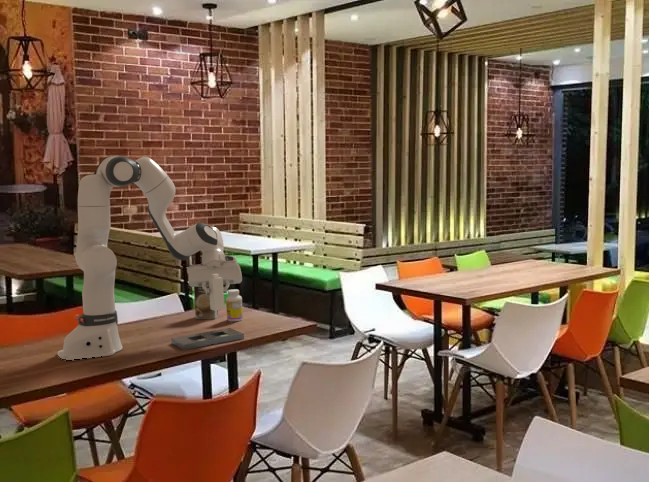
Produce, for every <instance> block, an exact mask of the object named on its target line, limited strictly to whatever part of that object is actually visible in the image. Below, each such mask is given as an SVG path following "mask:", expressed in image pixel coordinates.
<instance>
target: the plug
mask: <svg viewBox="0 0 649 482" xmlns="http://www.w3.org/2000/svg"><path fill="white" fill-rule="evenodd" d="M223 287H224V285H223V278H221V277H219V274H212V278H209V291H210V309H211V310H214V311H218V312H219V311H223V310H226V309H225V307H226V306H225V295H224V294H225V293H224V290H223Z"/></svg>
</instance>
